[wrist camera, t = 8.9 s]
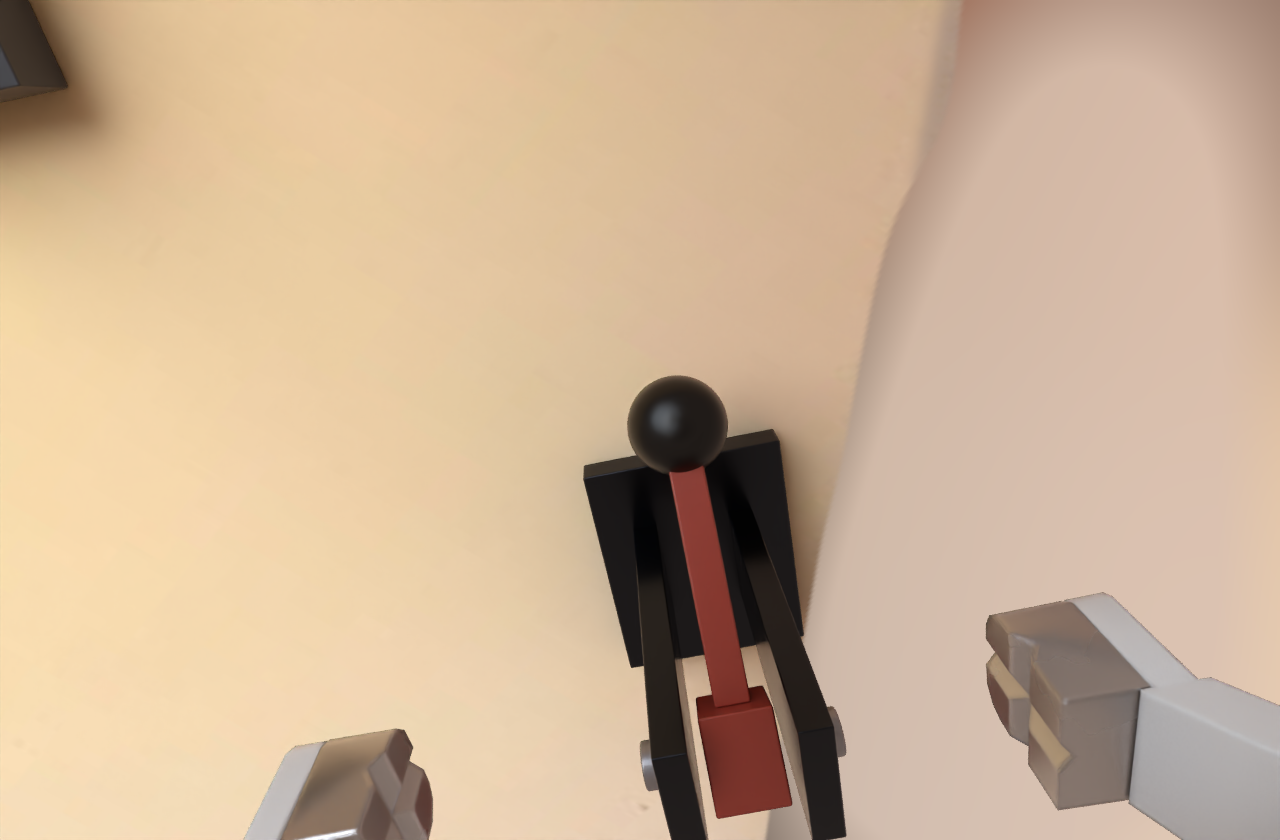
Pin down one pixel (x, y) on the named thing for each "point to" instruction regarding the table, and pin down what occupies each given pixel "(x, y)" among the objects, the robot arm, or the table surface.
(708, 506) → the switch lever
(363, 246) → the table surface
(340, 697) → the table surface
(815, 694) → the switch bracket
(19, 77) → the button box
